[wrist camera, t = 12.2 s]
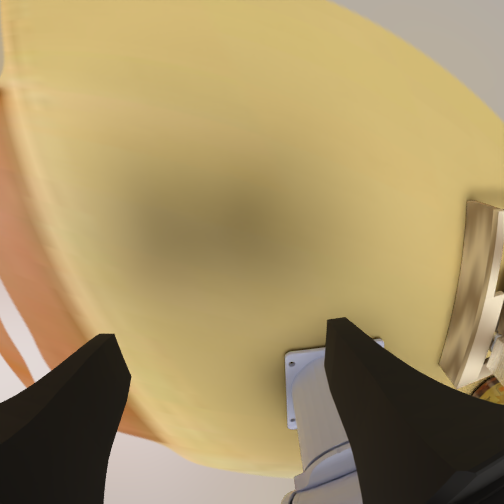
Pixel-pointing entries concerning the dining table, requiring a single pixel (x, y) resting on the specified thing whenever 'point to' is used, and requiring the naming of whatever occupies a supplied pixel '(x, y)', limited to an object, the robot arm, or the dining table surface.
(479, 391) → the sauce bottle
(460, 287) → the beige wooden frame
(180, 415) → the dining table surface
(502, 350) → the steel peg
